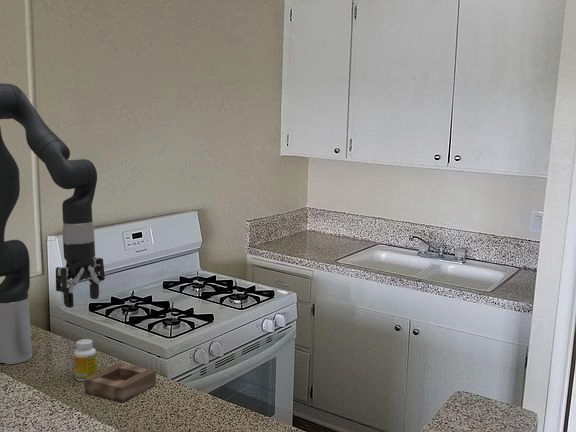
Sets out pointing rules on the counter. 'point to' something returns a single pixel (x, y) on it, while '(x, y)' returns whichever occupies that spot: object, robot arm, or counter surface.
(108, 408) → the counter surface
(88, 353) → the supplement bottle
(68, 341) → the counter surface
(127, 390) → the socket block
